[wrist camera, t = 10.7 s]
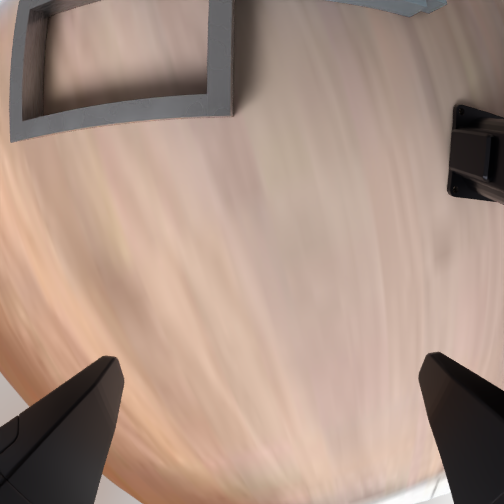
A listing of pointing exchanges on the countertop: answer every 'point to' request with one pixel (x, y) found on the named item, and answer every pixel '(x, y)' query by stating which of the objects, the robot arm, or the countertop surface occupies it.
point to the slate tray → (399, 5)
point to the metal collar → (150, 109)
